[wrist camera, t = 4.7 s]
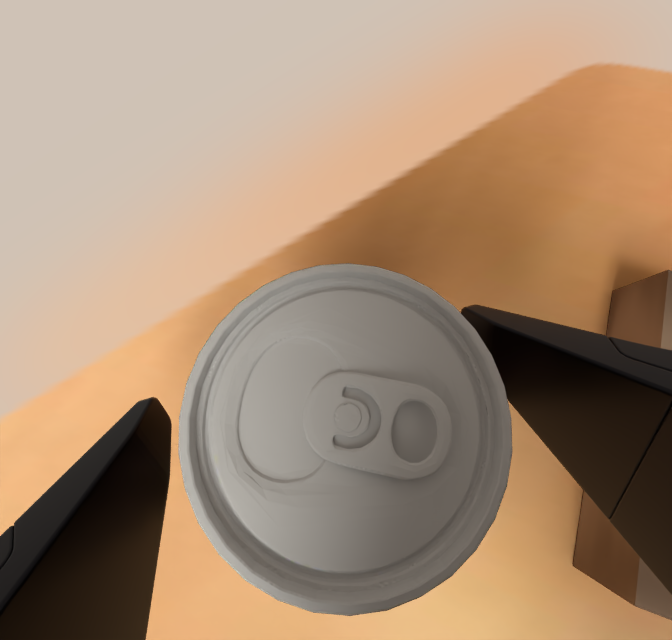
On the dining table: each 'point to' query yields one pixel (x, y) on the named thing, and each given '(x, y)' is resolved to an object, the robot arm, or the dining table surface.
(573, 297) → the dining table surface
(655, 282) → the walnut block
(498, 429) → the beverage can
